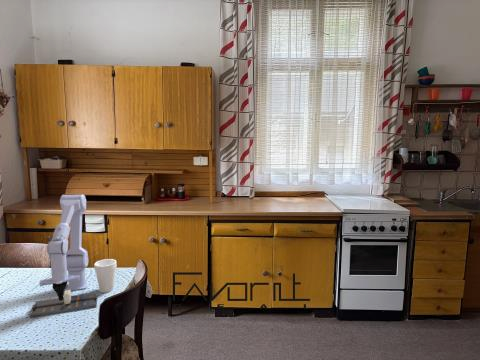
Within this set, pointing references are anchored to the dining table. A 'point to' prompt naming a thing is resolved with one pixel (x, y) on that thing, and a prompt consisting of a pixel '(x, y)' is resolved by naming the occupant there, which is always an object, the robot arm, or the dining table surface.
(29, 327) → the dining table surface
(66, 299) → the block
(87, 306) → the console
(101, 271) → the foam cup
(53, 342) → the dining table surface
